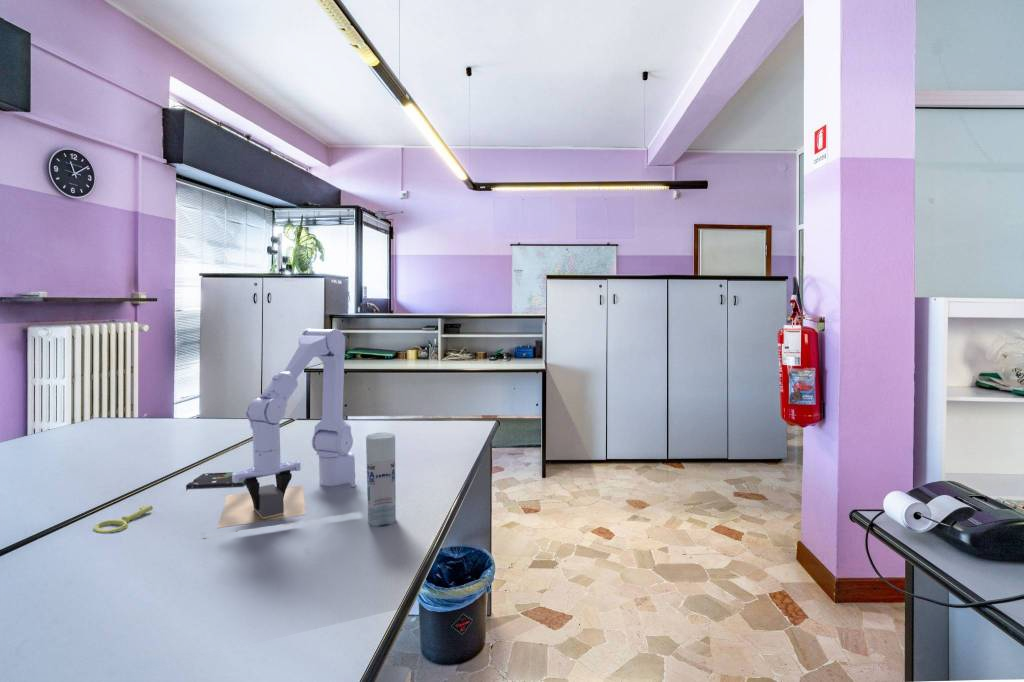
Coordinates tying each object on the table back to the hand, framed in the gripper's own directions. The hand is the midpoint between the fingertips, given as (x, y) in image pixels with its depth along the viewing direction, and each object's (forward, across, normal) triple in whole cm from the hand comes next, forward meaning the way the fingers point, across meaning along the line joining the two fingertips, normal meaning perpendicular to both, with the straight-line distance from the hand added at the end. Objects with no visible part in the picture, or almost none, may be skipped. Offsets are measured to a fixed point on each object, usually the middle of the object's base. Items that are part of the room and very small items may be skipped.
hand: (268, 505), depth 120 cm
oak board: (+3, -1, -6) cm, 6 cm away
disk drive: (+3, +3, -32) cm, 33 cm away
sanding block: (+1, 0, 0) cm, 1 cm away
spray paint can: (+3, -19, +20) cm, 28 cm away
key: (+3, +26, -18) cm, 32 cm away
